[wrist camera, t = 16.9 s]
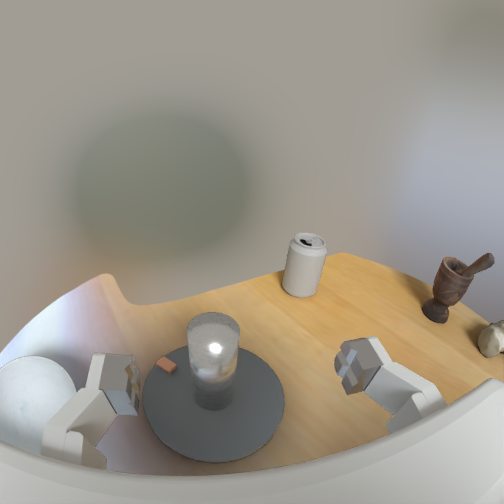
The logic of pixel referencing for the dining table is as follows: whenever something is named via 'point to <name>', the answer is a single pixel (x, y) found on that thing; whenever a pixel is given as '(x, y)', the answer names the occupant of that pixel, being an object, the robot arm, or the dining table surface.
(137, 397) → the robot arm
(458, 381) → the dining table surface
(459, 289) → the mortar and pestle
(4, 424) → the chinaware
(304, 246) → the can
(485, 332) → the ceramic sculpture
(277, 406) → the disc
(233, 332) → the clear drinking glass
